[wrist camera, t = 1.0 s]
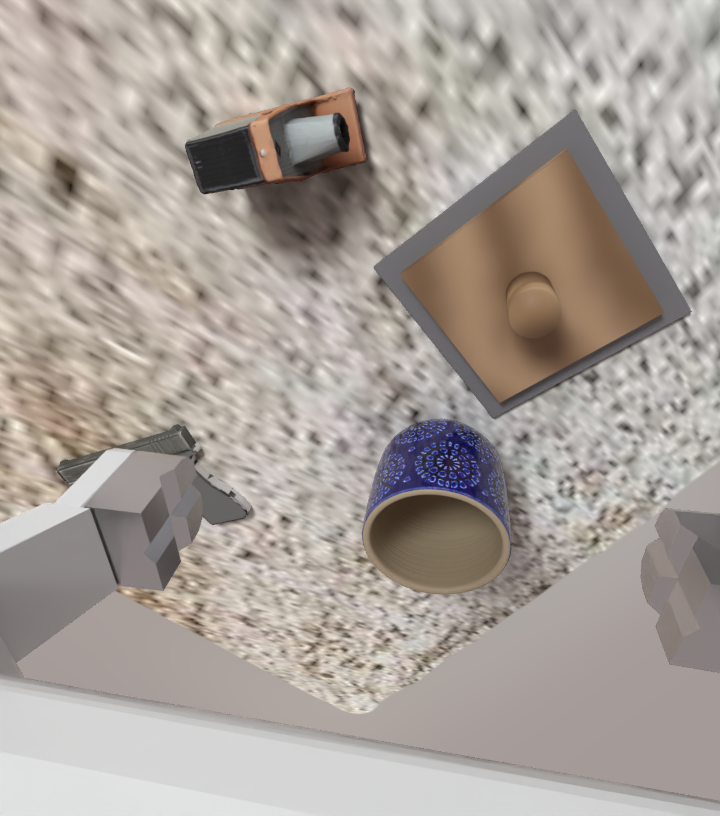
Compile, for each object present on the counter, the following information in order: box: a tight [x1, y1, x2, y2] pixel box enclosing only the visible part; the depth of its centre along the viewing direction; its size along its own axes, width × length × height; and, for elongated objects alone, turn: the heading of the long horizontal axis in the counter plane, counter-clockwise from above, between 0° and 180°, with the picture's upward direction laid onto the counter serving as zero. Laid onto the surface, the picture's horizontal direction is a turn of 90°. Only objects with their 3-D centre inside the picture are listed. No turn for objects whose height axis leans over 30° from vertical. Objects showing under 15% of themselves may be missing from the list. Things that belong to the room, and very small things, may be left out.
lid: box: [400, 149, 664, 403], centre depth 36 cm, size 13×13×5 cm
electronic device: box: [185, 88, 367, 194], centre depth 33 cm, size 4×10×8 cm, turn 103°
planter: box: [362, 419, 511, 594], centre depth 43 cm, size 11×11×11 cm
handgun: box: [56, 425, 252, 525], centre depth 56 cm, size 2×19×12 cm
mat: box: [374, 110, 692, 418], centre depth 38 cm, size 16×16×1 cm
